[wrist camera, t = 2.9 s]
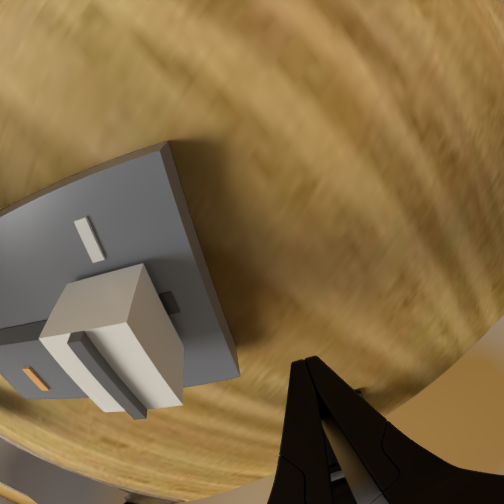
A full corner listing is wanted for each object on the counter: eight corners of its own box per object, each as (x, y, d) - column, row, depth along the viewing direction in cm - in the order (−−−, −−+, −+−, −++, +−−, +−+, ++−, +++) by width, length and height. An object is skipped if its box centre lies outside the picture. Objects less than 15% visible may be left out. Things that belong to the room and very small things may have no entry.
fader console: (168, 140, 12) (158, 151, 10) (235, 346, 19) (240, 379, 16) (-55, 245, 12) (-76, 266, 9) (32, 376, 18) (23, 400, 16)
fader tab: (143, 263, 11) (123, 333, 8) (183, 345, 14) (183, 414, 11) (66, 283, 11) (34, 348, 8) (115, 357, 14) (102, 421, 10)
